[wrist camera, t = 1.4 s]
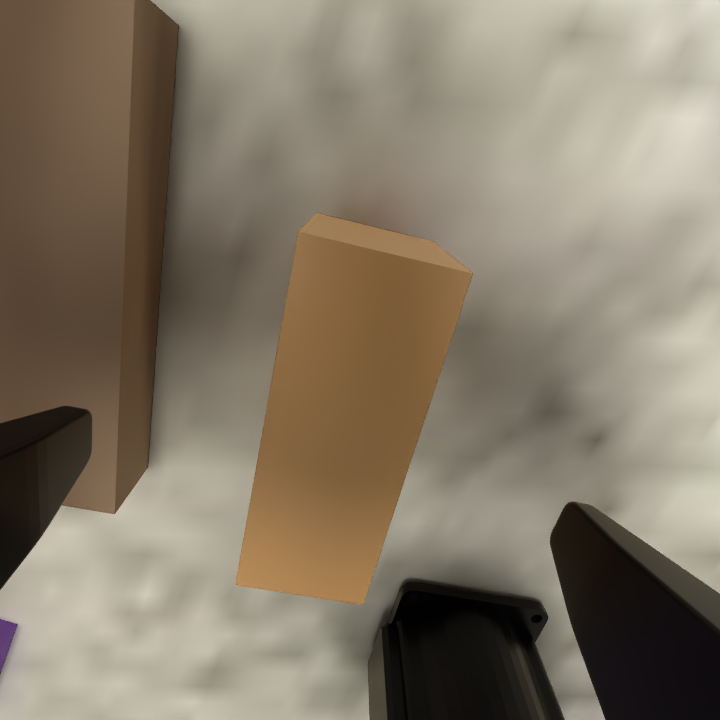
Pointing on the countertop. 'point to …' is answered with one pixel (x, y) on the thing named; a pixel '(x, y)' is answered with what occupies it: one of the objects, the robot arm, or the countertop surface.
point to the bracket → (5, 639)
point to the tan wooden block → (346, 404)
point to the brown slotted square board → (84, 221)
